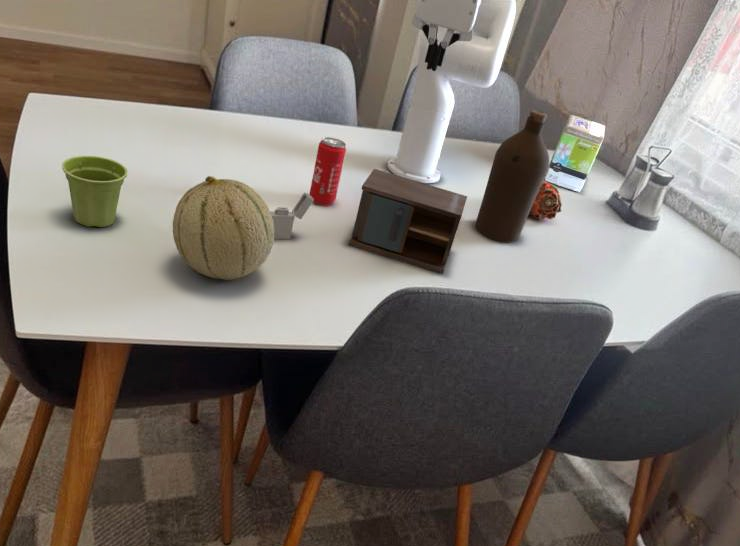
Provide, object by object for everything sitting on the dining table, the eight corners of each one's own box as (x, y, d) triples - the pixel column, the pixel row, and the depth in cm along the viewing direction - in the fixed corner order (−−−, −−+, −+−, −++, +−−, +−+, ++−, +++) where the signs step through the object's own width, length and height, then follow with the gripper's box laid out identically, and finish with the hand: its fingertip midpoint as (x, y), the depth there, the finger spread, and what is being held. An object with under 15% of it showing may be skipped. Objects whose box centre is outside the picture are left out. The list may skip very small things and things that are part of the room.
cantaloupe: (274, 299, 106) (291, 207, 97) (173, 296, 100) (181, 198, 92) (257, 251, 117) (271, 164, 108) (165, 245, 111) (172, 154, 103)
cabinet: (360, 225, 134) (374, 168, 128) (449, 252, 133) (467, 196, 127) (348, 245, 126) (362, 185, 120) (442, 274, 125) (461, 215, 119)
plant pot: (138, 221, 116) (140, 171, 111) (97, 239, 108) (98, 186, 103) (92, 201, 118) (92, 151, 113) (49, 217, 110) (47, 164, 106)
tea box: (581, 193, 180) (604, 137, 172) (543, 181, 182) (565, 124, 173) (584, 177, 193) (606, 124, 184) (548, 165, 194) (569, 112, 186)
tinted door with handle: (358, 238, 126) (369, 191, 121) (402, 252, 126) (415, 205, 121) (353, 247, 123) (364, 199, 118) (398, 260, 122) (411, 213, 117)
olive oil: (525, 248, 143) (572, 127, 129) (475, 237, 142) (517, 114, 128) (516, 226, 152) (559, 110, 138) (469, 216, 150) (507, 98, 137)
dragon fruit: (547, 235, 156) (513, 217, 165) (576, 212, 157) (540, 196, 166) (538, 204, 150) (503, 188, 159) (568, 181, 152) (532, 166, 160)
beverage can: (331, 209, 137) (343, 149, 130) (305, 201, 137) (316, 141, 131) (337, 200, 141) (349, 142, 135) (312, 193, 142) (323, 134, 135)
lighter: (268, 238, 121) (275, 195, 117) (265, 234, 122) (272, 190, 118) (306, 238, 124) (314, 196, 120) (303, 234, 126) (311, 192, 121)
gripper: (508, -37, 117) (474, 76, 127) (421, -61, 118) (395, 53, 128) (505, -34, 111) (470, 85, 121) (414, -60, 112) (387, 60, 122)
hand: (431, 68), depth 124 cm, fingers closed
